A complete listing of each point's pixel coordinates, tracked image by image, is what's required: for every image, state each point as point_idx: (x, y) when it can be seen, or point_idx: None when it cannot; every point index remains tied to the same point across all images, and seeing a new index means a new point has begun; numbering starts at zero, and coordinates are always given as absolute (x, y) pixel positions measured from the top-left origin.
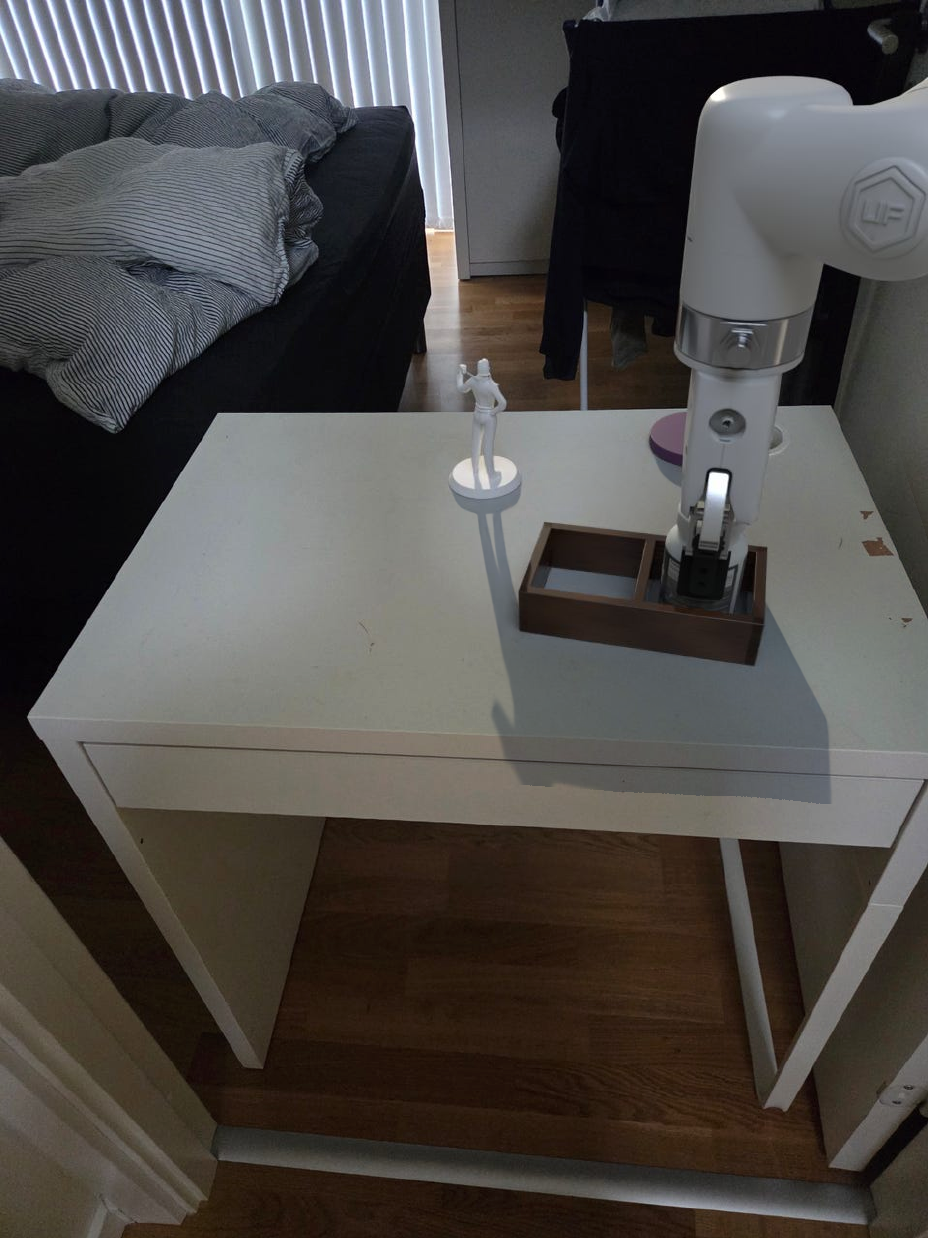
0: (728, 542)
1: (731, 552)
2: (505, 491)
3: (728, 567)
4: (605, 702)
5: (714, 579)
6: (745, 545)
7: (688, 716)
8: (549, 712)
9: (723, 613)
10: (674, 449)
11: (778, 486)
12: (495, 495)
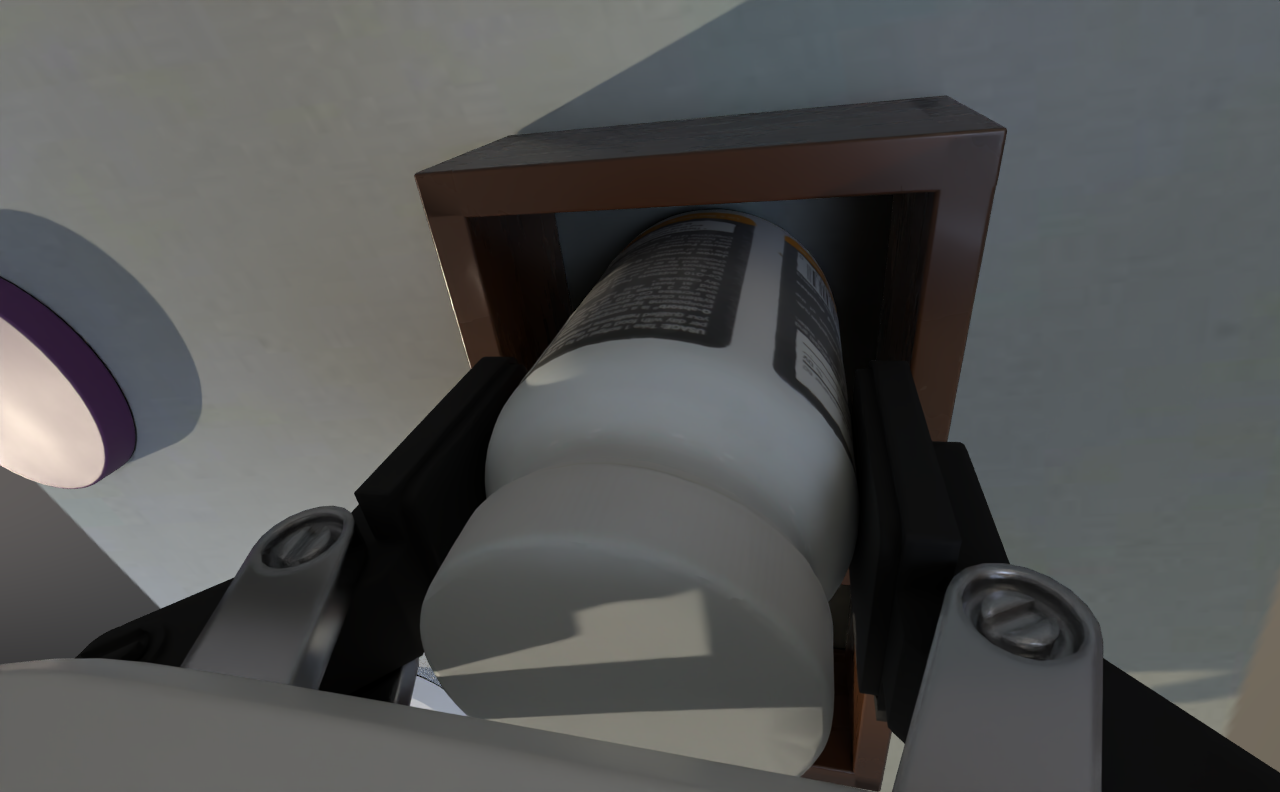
0: (1093, 723)
1: (779, 458)
2: (434, 692)
3: (938, 474)
4: (1142, 508)
5: (982, 496)
6: (665, 378)
7: (1236, 295)
8: (1177, 613)
9: (927, 318)
10: (90, 437)
11: (4, 130)
12: (453, 702)
